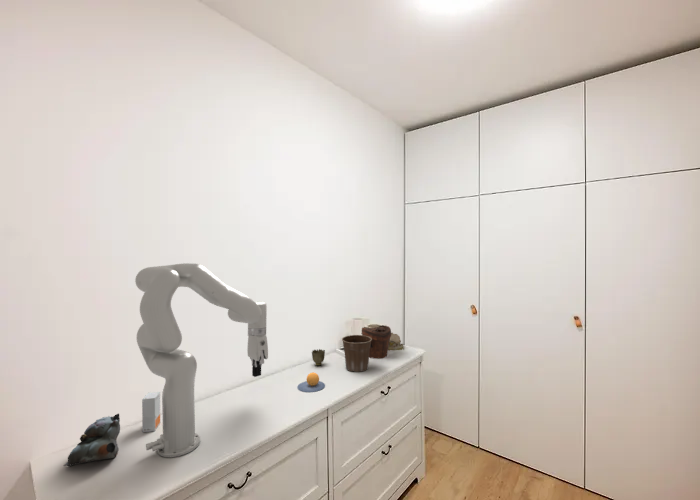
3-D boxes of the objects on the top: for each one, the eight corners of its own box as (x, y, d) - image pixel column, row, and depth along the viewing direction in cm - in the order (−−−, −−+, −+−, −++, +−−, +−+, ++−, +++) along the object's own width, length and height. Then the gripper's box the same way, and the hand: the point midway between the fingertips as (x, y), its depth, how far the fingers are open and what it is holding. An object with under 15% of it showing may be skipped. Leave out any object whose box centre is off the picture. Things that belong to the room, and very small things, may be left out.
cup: (323, 367, 182) (322, 353, 182) (310, 367, 184) (309, 352, 184) (326, 363, 190) (326, 349, 190) (314, 362, 191) (314, 348, 191)
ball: (323, 378, 159) (316, 389, 157) (316, 374, 164) (309, 386, 161) (316, 371, 156) (309, 383, 154) (308, 368, 161) (301, 380, 158)
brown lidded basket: (396, 351, 208) (395, 323, 208) (386, 362, 190) (385, 330, 190) (369, 349, 215) (368, 321, 215) (357, 358, 197) (356, 328, 197)
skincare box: (155, 431, 120) (154, 398, 120) (142, 432, 119) (141, 399, 119) (161, 422, 126) (160, 391, 126) (148, 424, 125) (148, 392, 125)
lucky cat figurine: (55, 467, 101) (70, 416, 107) (98, 463, 110) (110, 416, 117) (81, 466, 94) (96, 411, 101) (125, 461, 104) (135, 412, 110)
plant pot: (378, 369, 178) (377, 339, 178) (353, 376, 169) (353, 344, 169) (360, 361, 192) (360, 333, 192) (336, 367, 183) (336, 337, 183)
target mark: (307, 394, 148) (307, 394, 148) (292, 386, 158) (292, 385, 158) (330, 386, 157) (330, 386, 157) (314, 378, 167) (314, 378, 167)
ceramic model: (380, 350, 213) (380, 334, 213) (382, 345, 224) (382, 330, 224) (403, 350, 211) (402, 335, 211) (403, 345, 222) (403, 330, 222)
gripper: (274, 333, 136) (273, 378, 136) (257, 327, 147) (256, 369, 147) (257, 335, 131) (256, 382, 131) (240, 329, 142) (240, 373, 142)
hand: (256, 375), depth 139 cm, fingers closed
